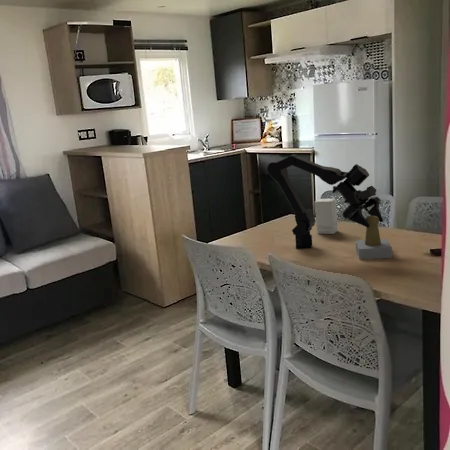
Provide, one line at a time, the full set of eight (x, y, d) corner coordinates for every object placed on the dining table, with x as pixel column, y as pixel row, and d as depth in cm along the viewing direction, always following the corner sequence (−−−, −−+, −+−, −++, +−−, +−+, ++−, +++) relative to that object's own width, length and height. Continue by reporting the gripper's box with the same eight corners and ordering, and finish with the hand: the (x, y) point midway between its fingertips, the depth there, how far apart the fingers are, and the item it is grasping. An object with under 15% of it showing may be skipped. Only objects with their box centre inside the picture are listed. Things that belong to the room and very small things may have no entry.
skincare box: (338, 231, 231) (336, 198, 227) (333, 234, 225) (331, 201, 222) (321, 230, 235) (319, 198, 232) (316, 233, 230) (314, 201, 226)
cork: (371, 247, 188) (370, 218, 186) (361, 243, 194) (360, 216, 191) (384, 243, 191) (383, 216, 188) (373, 240, 196) (372, 213, 194)
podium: (359, 259, 188) (358, 249, 187) (356, 250, 200) (355, 240, 199) (392, 257, 186) (391, 247, 185) (386, 248, 198) (386, 238, 197)
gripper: (347, 184, 183) (375, 216, 178) (375, 176, 195) (402, 206, 190) (331, 203, 191) (357, 234, 185) (359, 194, 203) (384, 223, 197)
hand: (375, 224), depth 189 cm, fingers open, 9 cm apart
